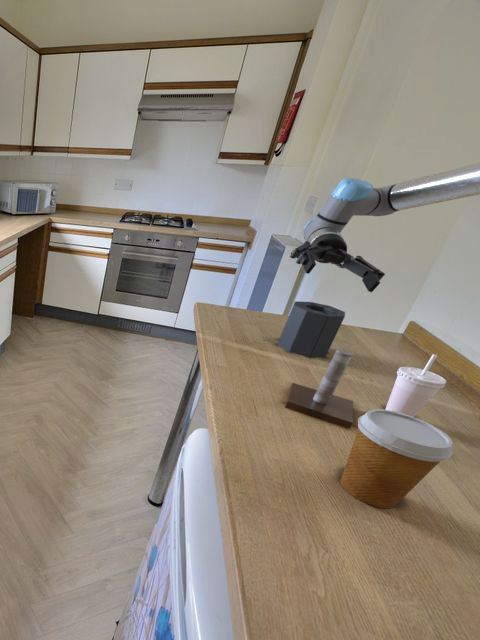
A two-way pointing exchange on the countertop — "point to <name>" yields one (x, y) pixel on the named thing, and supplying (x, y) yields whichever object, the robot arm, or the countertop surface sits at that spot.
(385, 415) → the disposable coffee cup
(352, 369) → the countertop surface
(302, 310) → the grey hollow prism
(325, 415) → the towel holder
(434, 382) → the smoothie
